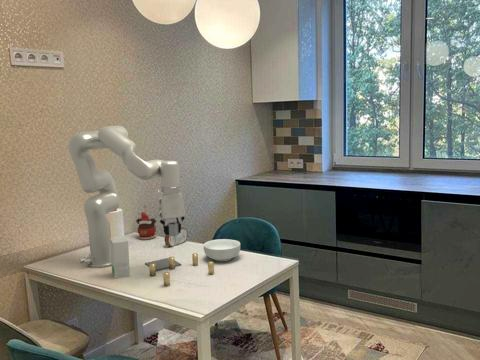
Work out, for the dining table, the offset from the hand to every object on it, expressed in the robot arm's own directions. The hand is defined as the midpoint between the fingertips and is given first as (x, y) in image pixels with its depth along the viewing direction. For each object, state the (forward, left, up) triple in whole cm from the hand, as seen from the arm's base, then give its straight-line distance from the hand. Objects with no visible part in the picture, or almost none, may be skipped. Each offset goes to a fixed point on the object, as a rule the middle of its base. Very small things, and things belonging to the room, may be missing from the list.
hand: (172, 233), depth 196 cm
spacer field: (+1, -4, -17) cm, 17 cm away
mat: (0, +11, -17) cm, 20 cm away
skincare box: (-19, +11, -17) cm, 28 cm away
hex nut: (0, 0, -1) cm, 1 cm away
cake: (+12, +59, -17) cm, 62 cm away
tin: (+19, +36, -17) cm, 44 cm away
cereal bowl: (+25, +1, -17) cm, 30 cm away
